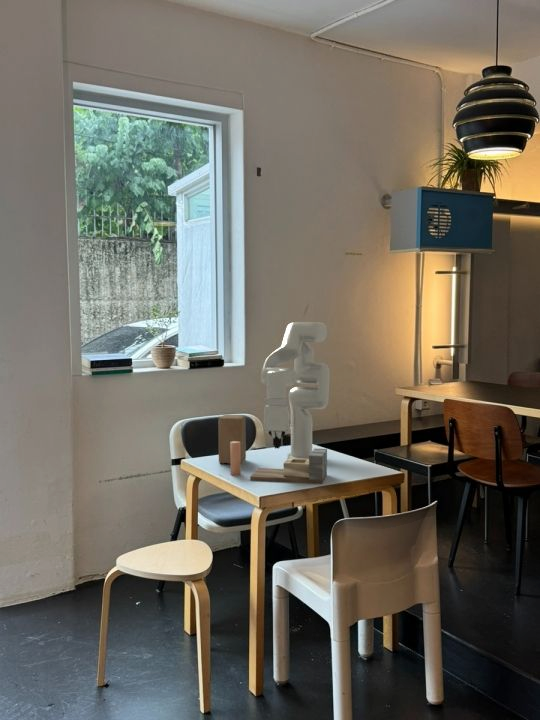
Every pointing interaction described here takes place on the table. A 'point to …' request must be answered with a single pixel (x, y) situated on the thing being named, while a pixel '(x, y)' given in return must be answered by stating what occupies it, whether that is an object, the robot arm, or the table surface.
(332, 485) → the table surface
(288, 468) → the sliding block
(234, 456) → the dowel
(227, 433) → the block
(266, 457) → the table surface
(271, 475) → the backstop board
